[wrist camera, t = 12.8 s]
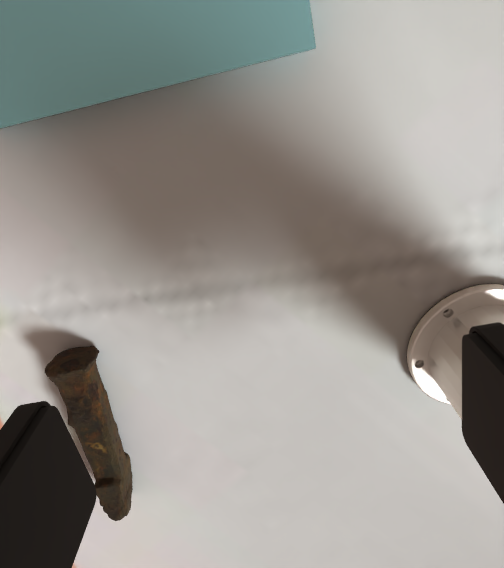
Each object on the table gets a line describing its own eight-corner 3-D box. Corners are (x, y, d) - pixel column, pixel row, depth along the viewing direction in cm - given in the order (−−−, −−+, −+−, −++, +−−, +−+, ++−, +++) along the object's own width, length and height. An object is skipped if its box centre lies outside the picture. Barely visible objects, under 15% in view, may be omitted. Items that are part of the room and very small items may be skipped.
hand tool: (55, 345, 38) (34, 378, 34) (101, 340, 38) (85, 373, 34) (104, 492, 46) (92, 534, 42) (142, 489, 46) (133, 530, 42)
